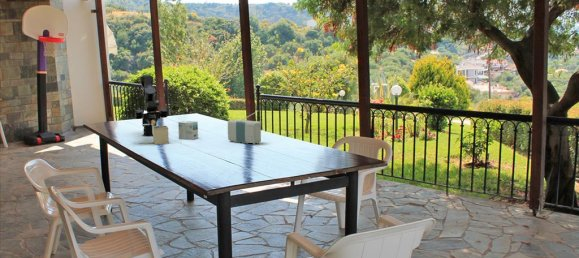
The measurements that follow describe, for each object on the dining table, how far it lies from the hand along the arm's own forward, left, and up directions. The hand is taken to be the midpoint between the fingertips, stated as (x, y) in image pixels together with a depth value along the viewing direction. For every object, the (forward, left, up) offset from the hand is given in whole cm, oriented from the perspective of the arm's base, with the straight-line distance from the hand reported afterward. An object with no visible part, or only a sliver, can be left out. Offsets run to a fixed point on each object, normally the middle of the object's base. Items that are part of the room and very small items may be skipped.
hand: (153, 124), depth 331 cm
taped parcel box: (-36, +41, -12) cm, 56 cm away
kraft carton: (-6, 0, -12) cm, 13 cm away
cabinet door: (-2, -3, -7) cm, 8 cm away
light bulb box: (-27, +2, -12) cm, 29 cm away
